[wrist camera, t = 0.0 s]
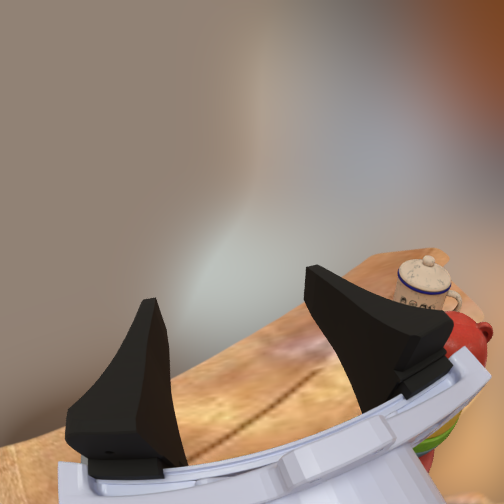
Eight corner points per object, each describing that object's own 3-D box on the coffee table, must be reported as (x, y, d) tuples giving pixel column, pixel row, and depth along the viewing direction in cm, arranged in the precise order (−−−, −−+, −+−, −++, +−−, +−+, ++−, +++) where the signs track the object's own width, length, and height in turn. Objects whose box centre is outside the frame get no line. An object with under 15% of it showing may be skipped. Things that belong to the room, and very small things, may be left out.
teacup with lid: (380, 328, 39) (395, 263, 34) (394, 299, 45) (406, 240, 40) (447, 350, 32) (474, 285, 27) (452, 316, 38) (472, 257, 33)
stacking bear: (330, 466, 21) (377, 360, 13) (364, 398, 28) (402, 273, 21) (421, 489, 15) (529, 391, 7) (440, 417, 23) (509, 298, 15)
